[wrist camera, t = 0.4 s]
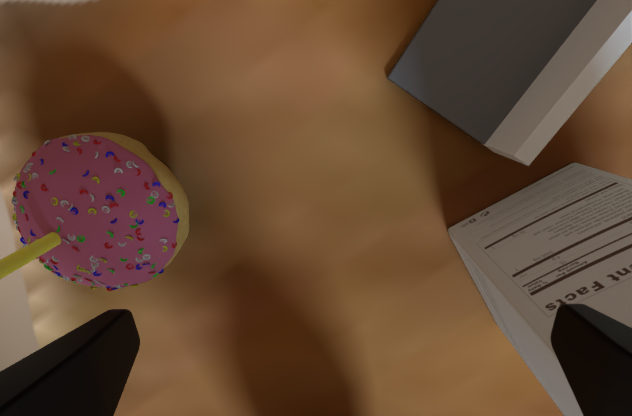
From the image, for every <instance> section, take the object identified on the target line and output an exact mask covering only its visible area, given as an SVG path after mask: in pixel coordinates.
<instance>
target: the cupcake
mask: <svg viewBox="0 0 632 416" xmlns="http://www.w3.org/2000/svg"><path fill="white" fill-rule="evenodd" d="M14 180H17V183H16V187H15V191H14V192H13V195H14V197H13V198H12V203H13V204H14V205H15V206H14V211H15V213H16V214H14V215H13V219H14V220H15V221H14V222H15V224H17V223H18V224H17V226H16V229H17V230H18V231H19V232H20V234H21V236H22V238H20V241H21V242H22V243H24V245H23V248H22V249H20V250H18V251H16V252H14V253H12V254H10V255H9V256H7V257H5V258H3V259H1V260H0V279H2V278H3V277H5V276H7V275H8V274H10V273H12V272H13V271H15V270H17V269H19V268H20V267H22V266H24V265H25V264H27V263H29V262H30V261H32V260H34V259H37V258H39V262H40V263H43V264H44V266H45V268H46V269H48V270H50V271H51V272H53V274H55V275H57V276H58V277H59V278H64V279H65V280H69V281H73V282H74V283H76V282H77V283H80V284H84V285H88V286H91V289H95V288H97V287H99V288H105V287H107V290H108V291H112V290H115V289H118V288H123V287H126V286H130V285H131V286H132V287H136V286H138V284H139V283H143V282H146V281H149V280H150V279H152V278H154V277H156V276H157V275H158V274H159V273H162V272H163V271H164V270H163V268H165V267H166V266H168V265H169V264H170V263H171V261H172V260H173V259H174V257H175V256H176V255H177V253H178V252H179V250H180V248H181V247H182V245H183V244H184V242H185V240H186V238H187V236H188V233H189V228H190V224H189V201H188V197H187V195H186V193H185V190H184V188H183V187H182V185H181V183H180V182H179V181H178V180H177V178H176V177H175V176H174V175H173V174H172V172H171V171H170V170H169V169H168V168H167V166H166V165H164V164H163V163H162V162H161V161H160V160H158V159H157V158H156V157H154V156H153V155H152V154H151V153H150V152H149V151H148V149H147V148H146V147H145V145H144V144H142V143H141V142H139V141H137V140H135V139H132V138H130V137H128V136H125V135H121V134H117V133H110V132H91V133H80V134H72V135H67V136H62V137H59V138H55V139H51V140H47V141H45V143H44V144H43V145H42V146H41V147H40V148H39V149H38V150H37V151H35V152H34V153H33V154H32V156H31V158H30V159H29V160H28V161H27V163H26V164H25V165H24V167H23V168H22V170H21V172H20V174H17V176H16V177H15V178H14ZM15 217H16V218H15ZM16 221H17V222H16ZM22 239H23V240H24V241H23V240H22ZM26 245H27V246H26ZM60 276H61V277H60ZM135 284H136V285H135ZM133 285H135V286H133ZM95 286H96V287H95ZM93 287H94V288H93ZM110 288H111V289H110Z"/></svg>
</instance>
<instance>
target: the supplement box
mask: <svg viewBox="0 0 632 416" xmlns="http://www.w3.org/2000/svg"><path fill="white" fill-rule="evenodd" d="M448 233H449V235H450V237H451V239H452V241H453V243H454V245H455V247H456V248H457V250H458V252H459V254H460V256H461V258H462V260H463V262H464V264H465V265H466V267H467V269H468V271H469V273H470V275H471V277H472V279H473V281H474V282H475V284H476V286H477V288H478V290H479V292H480V294H481V296H482V297H483V299H484V301H485V303H486V305H487V307H488V309H489V311H490V312H491V314H492V316H493V318H494V320H495V322H496V324H497V325H498V327H499V328H500V329H501V331H502V332H503V333H504V335H505V336H506V337H507V339H508V340H509V341H510V343H511V344H512V345H513V347H514V348H515V350H516V351H517V352H518V354H519V355H520V356H521V358H522V359H523V360H524V362H525V363H526V364H527V366H528V367H529V369H530V370H531V371H532V373H533V374H534V375H535V377H536V378H537V379H538V381H539V382H540V383H541V385H542V386H543V387H544V389H545V390H546V391H547V393H548V394H549V395H550V397H551V398H552V400H553V401H554V402H555V404H556V405H557V406H558V408H559V409H560V410H561V412H562V413H563V414H564V416H583V414H582V412H581V409H580V407H579V405H578V403H577V401H576V399H575V396H574V394H573V392H572V390H571V388H570V385H569V383H568V381H567V379H566V377H565V374H564V372H563V370H562V368H561V366H560V363H559V361H558V359H557V357H556V355H555V352H554V350H553V348H552V345H551V339H550V337H551V331H552V327H553V324H554V320H555V316H556V312H557V309H558V307H559V306H560V305H562V304H585V305H587V306H589V307H591V308H593V309H595V310H597V311H599V312H601V313H603V314H605V315H607V316H609V317H611V318H613V319H615V320H617V321H619V322H621V323H623V324H625V325H627V326H629V327H631V328H632V179H629V178H625V177H622V176H619V175H615V174H612V173H609V172H606V171H602V170H599V169H596V168H592V167H589V166H586V165H582V164H579V163H576V162H575V163H572V164H570V165H568V166H566V167H564V168H562V169H560V170H558V171H556V172H554V173H552V174H550V175H548V176H547V177H545V178H543V179H541V180H539V181H537V182H535V183H533V184H531V185H529V186H528V187H526V188H524V189H522V190H520V191H518V192H516V193H514V194H512V195H510V196H508V197H507V198H505V199H503V200H501V201H499V202H497V203H495V204H493V205H491V206H490V207H488V208H486V209H484V210H482V211H480V212H478V213H476V214H474V215H473V216H471V217H469V218H467V219H465V220H463V221H461V222H459V223H457V224H455V225H454V226H452V227H450V228H449V229H448Z"/></svg>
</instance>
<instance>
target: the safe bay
mask: <svg viewBox="0 0 632 416" xmlns="http://www.w3.org/2000/svg"><path fill="white" fill-rule="evenodd" d="M631 43H632V0H437V2H436V3H435V5H434V6H433V8H432V9H431V11H430V12H429V14H428V16H427V17H426V19H425V20H424V22H423V23H422V25H421V26H420V28H419V29H418V31H417V32H416V34H415V35H414V37H413V39H412V40H411V42H410V43H409V45H408V46H407V48H406V49H405V51H404V52H403V54H402V55H401V57H400V58H399V60H398V61H397V63H396V65H395V66H394V68H393V69H392V71H391V72H390V74H389V75H388V77H387V79H389V80H390V81H392V82H393V83H395V84H396V85H397V86H399V87H400V88H402V89H403V90H405V91H406V92H408V93H409V94H410V95H412V96H413V97H415V98H416V99H418V100H419V101H421V102H422V103H423V104H425V105H426V106H428V107H429V108H431V109H432V110H434V111H435V112H436V113H438V114H439V115H441V116H442V117H444V118H445V119H447V120H448V121H449V122H451V123H452V124H454V125H455V126H457V127H458V128H460V129H461V130H462V131H464V132H465V133H467V134H468V135H470V136H471V137H473V138H474V139H475V140H477V141H478V142H480V143H481V144H483V145H484V146H485V147H487V148H488V149H490V150H491V151H493V152H494V153H497V154H499V155H502V156H504V157H507V158H509V159H512V160H514V161H517V162H519V163H522V164H524V165H527V166H529V165H530V164H531V163H532V161H533V160H534V159H535V158H536V157H537V155H538V154H539V153H540V152H541V151H542V149H543V148H544V147H545V146H546V145H547V143H548V142H549V141H550V140H551V139H552V137H553V136H554V135H555V134H556V133H557V131H558V130H559V129H560V128H561V127H562V125H563V124H564V123H565V122H566V121H567V119H568V118H569V117H570V116H571V115H572V113H573V112H574V111H575V110H576V109H577V107H578V106H579V105H580V104H581V103H582V101H583V100H584V99H585V98H586V97H587V95H588V94H589V93H590V92H591V91H592V90H593V88H594V87H595V86H596V85H597V84H598V82H599V81H600V80H601V79H602V78H603V76H604V75H605V74H606V73H607V72H608V70H609V69H610V68H611V67H612V66H613V64H614V63H615V62H616V61H617V60H618V58H619V57H620V56H621V55H622V54H623V52H624V51H625V50H626V49H627V48H628V46H629V45H630V44H631Z"/></svg>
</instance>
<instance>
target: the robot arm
mask: <svg viewBox="0 0 632 416" xmlns="http://www.w3.org/2000/svg"><path fill="white" fill-rule="evenodd" d="M550 339H551V345H552V348H553V350H554V352H555V355H556V357H557V359H558V361H559V363H560V366H561V368H562V370H563V372H564V374H565V377H566V379H567V381H568V383H569V385H570V388H571V390H572V392H573V394H574V396H575V399H576V401H577V403H578V405H579V407H580V409H581V412H582V414H583V416H632V328H631V327H629V326H627V325H625V324H623V323H621V322H619V321H617V320H615V319H613V318H611V317H609V316H607V315H605V314H603V313H601V312H599V311H597V310H595V309H593V308H591V307H589V306H587V305H585V304H562V305H560V306H559V307H558V309H557V312H556V316H555V320H554V324H553V327H552V331H551V337H550ZM139 346H140V338H139V334H138V331H137V328H136V325H135V321H134V318H133V315H132V313H131V312H130V311H129V310H127V309H111V310H108V311H106V312H104V313H102V314H101V315H99V316H97V317H95V318H94V319H92V320H90V321H88V322H87V323H85V324H83V325H81V326H80V327H78V328H76V329H74V330H73V331H71V332H69V333H67V334H65V335H64V336H62V337H60V338H58V339H57V340H55V341H53V342H51V343H50V344H48V345H46V346H44V347H43V348H41V349H39V350H38V351H36V352H34V353H32V354H30V355H29V356H27V357H25V358H23V359H22V360H20V361H18V362H16V363H15V364H13V365H11V366H9V367H8V368H6V369H4V370H2V371H1V372H0V416H113V415H114V413H115V410H116V408H117V405H118V403H119V400H120V397H121V395H122V392H123V390H124V387H125V384H126V382H127V379H128V377H129V374H130V371H131V369H132V366H133V363H134V361H135V358H136V356H137V353H138V350H139Z"/></svg>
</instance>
